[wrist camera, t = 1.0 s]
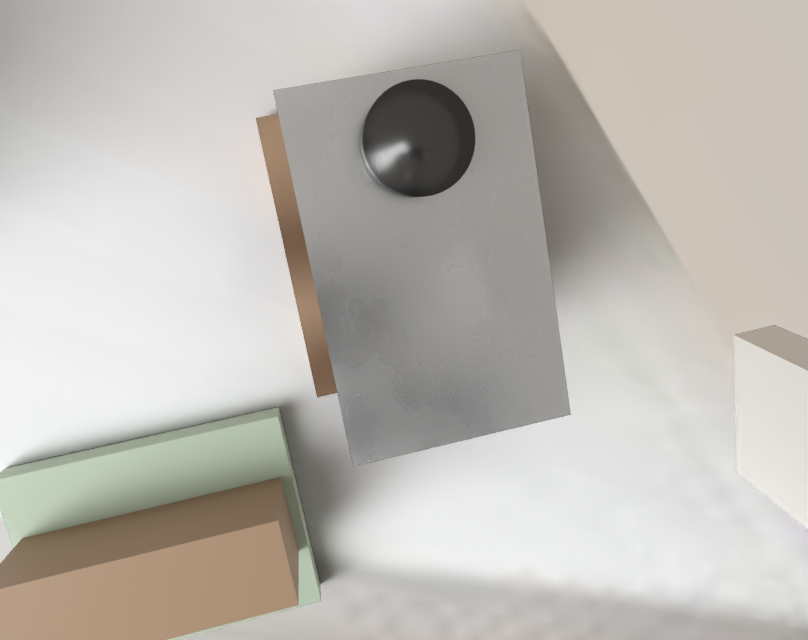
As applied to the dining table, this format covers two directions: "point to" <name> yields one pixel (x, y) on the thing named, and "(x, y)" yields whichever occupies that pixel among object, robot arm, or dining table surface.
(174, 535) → the stand
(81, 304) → the dining table surface
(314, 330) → the stand
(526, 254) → the cover plate
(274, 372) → the dining table surface
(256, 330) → the dining table surface
